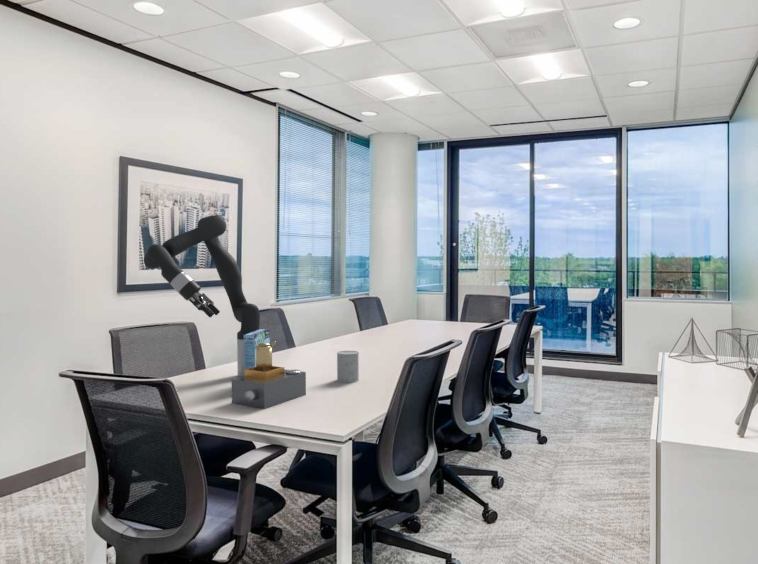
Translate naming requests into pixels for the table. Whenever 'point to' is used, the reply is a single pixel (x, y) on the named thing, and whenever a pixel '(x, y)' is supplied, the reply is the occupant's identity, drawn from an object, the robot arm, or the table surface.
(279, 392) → the grey box with knob
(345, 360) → the grey stone cylinder
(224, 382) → the table surface
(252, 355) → the gum box
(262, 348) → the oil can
